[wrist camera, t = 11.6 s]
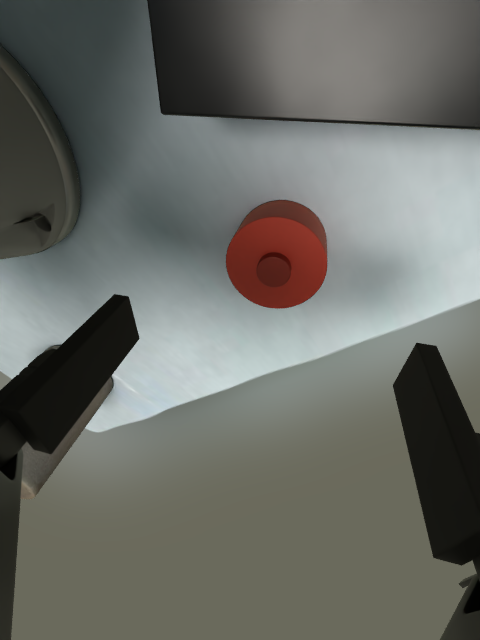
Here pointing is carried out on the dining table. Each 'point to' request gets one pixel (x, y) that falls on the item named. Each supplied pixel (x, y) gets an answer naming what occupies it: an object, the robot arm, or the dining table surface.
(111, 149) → the dining table surface
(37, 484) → the pillar candle
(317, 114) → the black drawer cabinet
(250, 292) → the lid
